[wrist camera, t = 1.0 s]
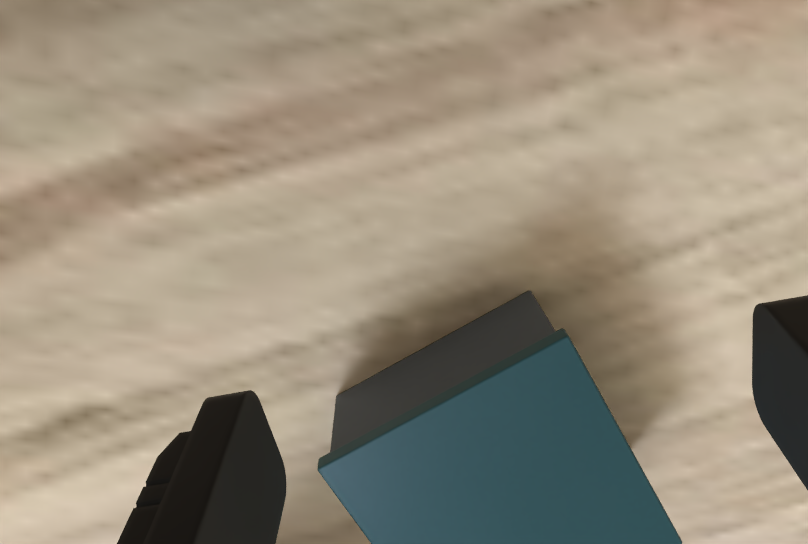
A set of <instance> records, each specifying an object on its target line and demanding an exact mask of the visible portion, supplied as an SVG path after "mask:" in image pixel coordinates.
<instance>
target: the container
mask: <svg viewBox="0 0 808 544" xmlns="http://www.w3.org/2000/svg"><path fill="white" fill-rule="evenodd" d="M318 471H319V473H320V474H321V475H322V477H323V478H324V480H325V481H326V482H327V484H328V485H329V486H330V488H331V489H332V490H333V492H334V493H335V495H336V496H337V497H338V499H339V500H340V501H341V503H342V504H343V505H344V507H345V508H346V510H347V511H348V512H349V514H350V515H351V516H352V518H353V519H354V520H355V522H356V523H357V525H358V526H359V527H360V529H361V530H362V531H363V533H364V534H365V535H366V537H367V538H368V540H369V541H370V542H371V544H682V541H681V539H680V537H679V535H678V533H677V531H676V530H675V528H674V526H673V524H672V522H671V521H670V519H669V517H668V515H667V513H666V512H665V510H664V508H663V506H662V504H661V502H660V501H659V499H658V497H657V495H656V493H655V492H654V490H653V488H652V486H651V484H650V483H649V481H648V479H647V477H646V475H645V473H644V472H643V470H642V468H641V466H640V464H639V463H638V461H637V459H636V457H635V455H634V454H633V452H632V450H631V448H630V446H629V444H628V443H627V441H626V439H625V437H624V435H623V434H622V432H621V430H620V428H619V426H618V425H617V423H616V421H615V419H614V417H613V415H612V414H611V412H610V410H609V408H608V406H607V405H606V403H605V401H604V399H603V397H602V396H601V394H600V392H599V390H598V388H597V386H596V385H595V383H594V381H593V379H592V377H591V376H590V374H589V372H588V370H587V368H586V366H585V365H584V363H583V361H582V359H581V357H580V356H579V354H578V352H577V350H576V348H575V347H574V345H573V343H572V341H571V339H570V337H569V336H568V334H567V333H566V331H565V330H564V329H563V328H562V329H560V330H558V331H555V330H554V328H553V326H552V325H551V323H550V322H549V320H548V318H547V317H546V315H545V313H544V312H543V310H542V309H541V307H540V305H539V304H538V302H537V301H536V299H535V297H534V296H533V294H532V292H531V291H527V292H526V293H524V294H522V295H520V296H518V297H516V298H515V299H513V300H511V301H509V302H507V303H505V304H504V305H502V306H500V307H498V308H496V309H494V310H493V311H491V312H489V313H487V314H485V315H484V316H482V317H480V318H478V319H476V320H474V321H473V322H471V323H469V324H467V325H465V326H463V327H462V328H460V329H458V330H456V331H454V332H452V333H451V334H449V335H447V336H445V337H443V338H441V339H440V340H438V341H436V342H434V343H432V344H431V345H429V346H427V347H425V348H423V349H421V350H420V351H418V352H416V353H414V354H412V355H410V356H409V357H407V358H405V359H403V360H401V361H399V362H398V363H396V364H394V365H392V366H390V367H388V368H387V369H385V370H383V371H381V372H379V373H377V374H376V375H374V376H372V377H370V378H368V379H367V380H365V381H363V382H361V383H359V384H357V385H356V386H354V387H352V388H350V389H348V390H346V391H345V392H343V393H341V394H339V395H337V396H336V404H335V413H334V422H333V431H332V441H331V450H330V453H328V454H326V455H325V456H323V457H321V458H320V459H319V461H318Z"/></svg>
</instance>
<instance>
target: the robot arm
mask: <svg viewBox="0 0 808 544" xmlns="http://www.w3.org/2000/svg"><path fill="white" fill-rule="evenodd" d="M752 388H753V395H754V400H755V404H756V407H757V410H758V413H759V416H760V418H761V420H762V422H763V424H764V426H765V427H766V429H767V430H768V432H769V433H770V435H771V436H772V438H773V439H774V441H775V442H776V444H777V445H778V447H779V448H780V450H781V451H782V453H783V454H784V456H785V457H786V459H787V460H788V462H789V463H790V465H791V466H792V468H793V469H794V471H795V472H796V474H797V475H798V477H799V478H800V480H801V481H802V482H803V484H804V485H805V487H806V488H807V490H808V295H807V296H802V297H796V298H790V299H784V300H778V301H773V302H767V303H761V304H758V305H756V307H755V309H754V312H753V353H752ZM285 497H286V474H285V468H284V464H283V460H282V457H281V455H280V452H279V450H278V447H277V444H276V442H275V439H274V437H273V434H272V431H271V429H270V426H269V424H268V421H267V419H266V416H265V413H264V411H263V408H262V406H261V403H260V401H259V398H258V397H257V395H256V394H255V393H254V392H253V391H251V390H249V391H244V392H238V393H232V394H226V395H220V396H215V397H209V398H207V399H206V400H205V401H204V402H203V404H202V407H201V409H200V411H199V414H198V416H197V418H196V421H195V423H194V426H193V428H192V430H191V431H189V432H183V433H179V434H178V435H177V436H176V438H175V439H174V440H173V441H172V442H171V443H170V444H169V445H168V446H167V447H166V448H165V449H164V451H163V452H162V453H161V454H160V455H159V456H158V457H157V459H156V461H155V464H154V466H153V468H152V470H151V472H150V474H149V476H148V479H147V481H146V487H143V489H142V491H141V494H140V496H139V498H138V500H137V502H136V504H137V507H136V508H133V511H132V513H131V515H130V517H129V519H128V521H127V523H126V526H125V528H124V530H123V532H122V534H121V536H120V538H119V541H118V543H117V544H275V543H276V538H277V534H278V529H279V525H280V520H281V516H282V511H283V507H284V502H285Z"/></svg>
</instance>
